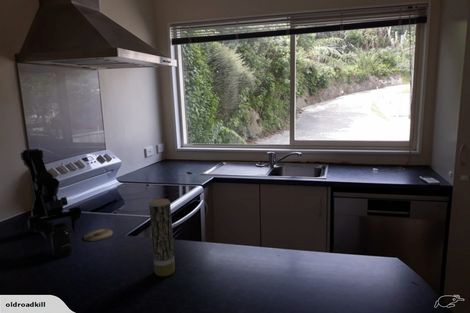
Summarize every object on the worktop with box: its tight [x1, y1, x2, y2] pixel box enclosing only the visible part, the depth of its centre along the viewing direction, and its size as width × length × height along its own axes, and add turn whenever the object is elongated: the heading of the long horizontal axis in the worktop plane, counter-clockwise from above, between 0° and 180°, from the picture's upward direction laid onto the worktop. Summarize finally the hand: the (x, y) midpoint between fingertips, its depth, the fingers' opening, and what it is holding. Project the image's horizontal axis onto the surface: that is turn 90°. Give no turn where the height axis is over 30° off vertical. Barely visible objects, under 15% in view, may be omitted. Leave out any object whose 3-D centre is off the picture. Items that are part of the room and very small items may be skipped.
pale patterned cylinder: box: [148, 198, 176, 277], centre depth 114 cm, size 7×7×25 cm
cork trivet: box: [83, 228, 114, 242], centre depth 151 cm, size 12×12×1 cm
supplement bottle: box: [50, 222, 73, 259], centre depth 132 cm, size 7×7×12 cm
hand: (61, 235), depth 132 cm, fingers open, 9 cm apart
